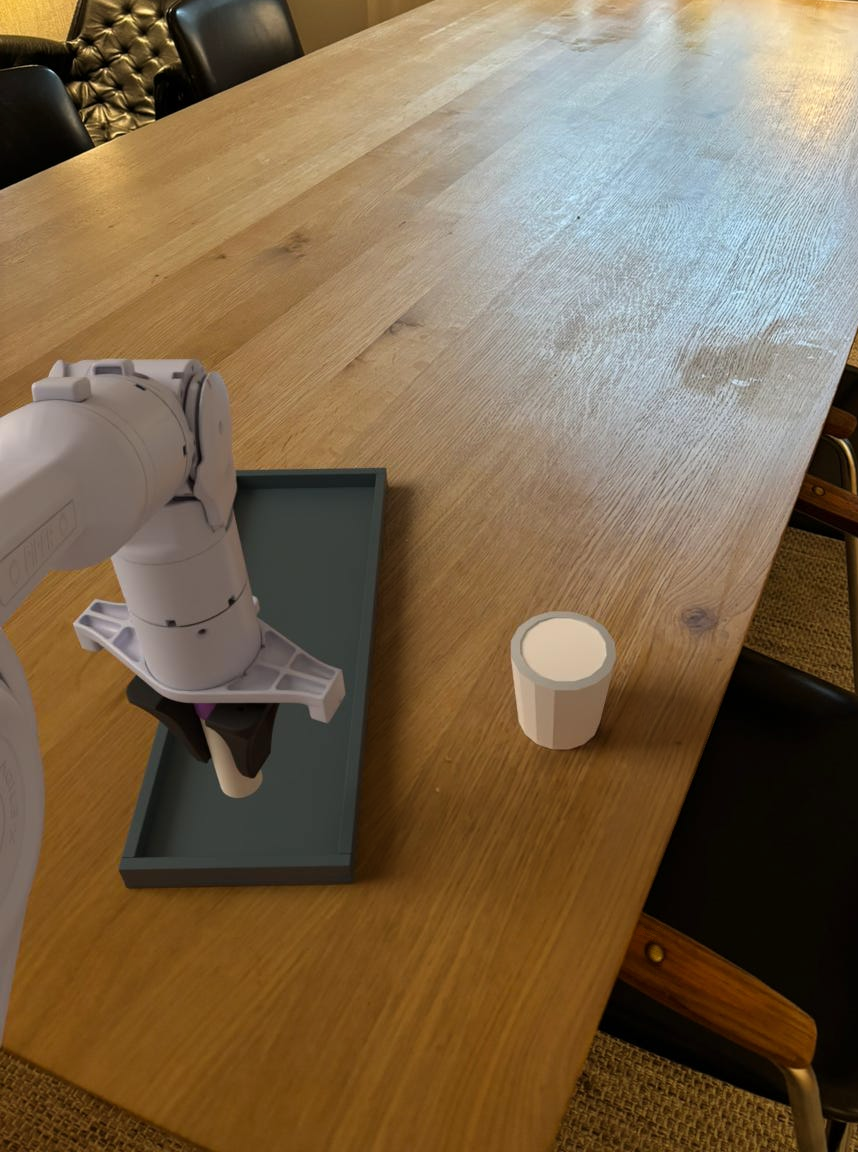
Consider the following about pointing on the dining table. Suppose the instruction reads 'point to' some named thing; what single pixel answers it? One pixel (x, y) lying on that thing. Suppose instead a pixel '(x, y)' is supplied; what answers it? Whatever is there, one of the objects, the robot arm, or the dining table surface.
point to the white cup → (561, 677)
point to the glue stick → (225, 760)
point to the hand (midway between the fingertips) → (234, 756)
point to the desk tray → (299, 743)
